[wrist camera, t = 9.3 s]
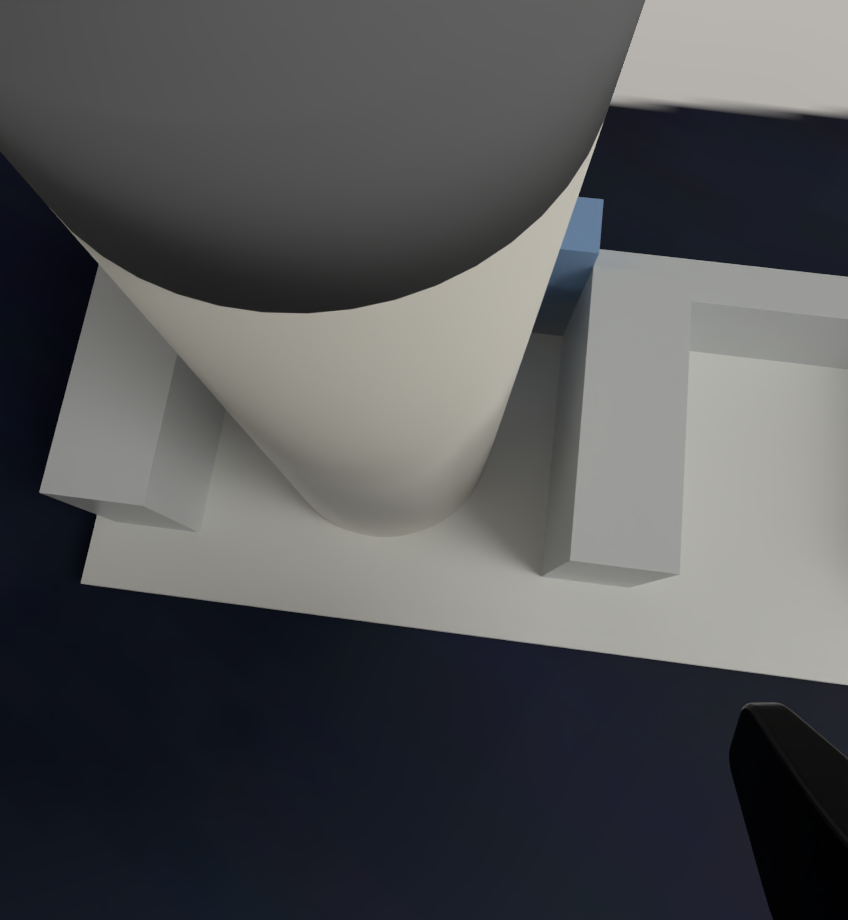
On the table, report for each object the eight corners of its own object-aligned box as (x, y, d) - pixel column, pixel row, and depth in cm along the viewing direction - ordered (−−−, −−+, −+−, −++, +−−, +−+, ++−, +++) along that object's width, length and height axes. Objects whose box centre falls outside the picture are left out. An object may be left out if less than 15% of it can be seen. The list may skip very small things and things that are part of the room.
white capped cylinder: (410, 580, 17) (339, 322, 3) (240, 457, 17) (-421, -187, 4) (530, 410, 18) (877, -351, 4) (365, 301, 18) (189, -661, 5)
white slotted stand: (1073, 715, 17) (1324, 744, 12) (95, 585, 18) (-25, 566, 13) (1044, 351, 19) (1247, 256, 14) (174, 252, 20) (95, 131, 15)
